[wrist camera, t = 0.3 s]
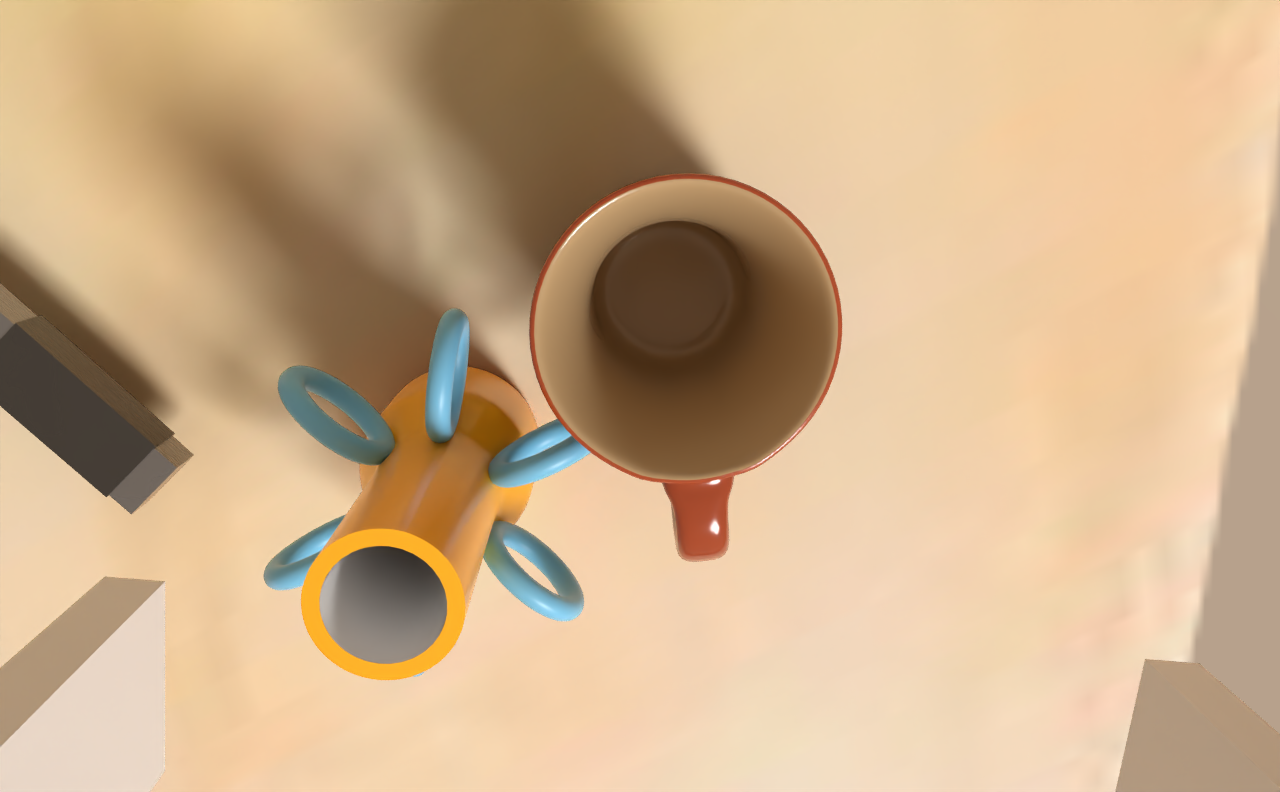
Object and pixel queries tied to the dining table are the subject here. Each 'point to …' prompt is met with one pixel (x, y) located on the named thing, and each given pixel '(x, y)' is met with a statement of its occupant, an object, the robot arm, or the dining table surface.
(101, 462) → the tongs arm
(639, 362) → the mug
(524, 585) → the cylinder
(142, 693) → the robot arm
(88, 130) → the dining table surface
